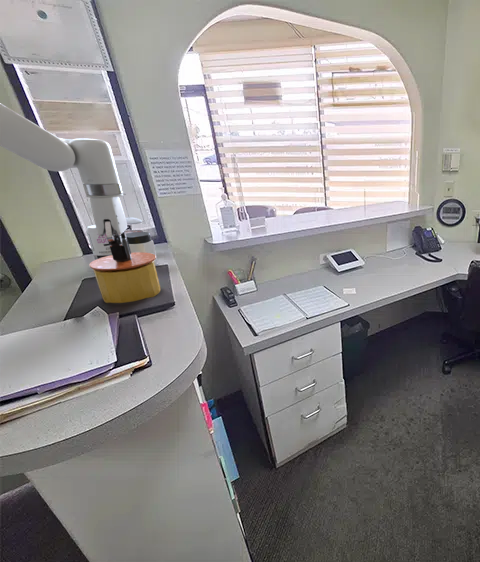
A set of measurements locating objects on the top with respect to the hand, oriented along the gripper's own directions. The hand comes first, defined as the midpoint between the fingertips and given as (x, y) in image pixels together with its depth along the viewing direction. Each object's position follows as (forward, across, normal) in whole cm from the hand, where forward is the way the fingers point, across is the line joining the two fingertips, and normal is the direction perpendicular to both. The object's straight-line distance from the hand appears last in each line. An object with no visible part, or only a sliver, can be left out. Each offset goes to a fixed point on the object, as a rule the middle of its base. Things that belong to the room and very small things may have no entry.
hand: (122, 256), depth 88 cm
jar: (+12, -28, -1) cm, 31 cm away
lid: (+1, 0, 0) cm, 1 cm away
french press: (+12, -44, -6) cm, 46 cm away
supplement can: (+12, -31, -11) cm, 35 cm away
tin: (+12, 0, 0) cm, 12 cm away
